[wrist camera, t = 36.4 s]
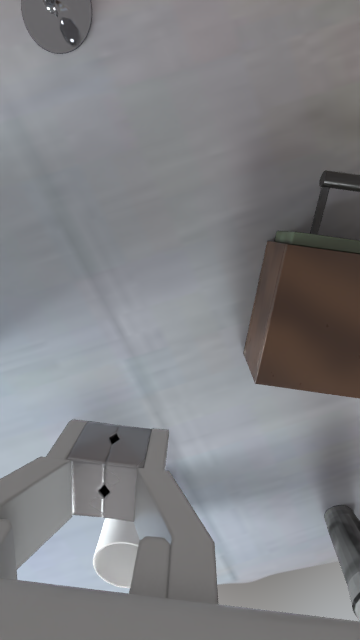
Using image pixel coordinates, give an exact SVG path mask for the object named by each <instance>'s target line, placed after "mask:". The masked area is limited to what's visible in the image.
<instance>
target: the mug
mask: <svg viewBox="0 0 360 640" xmlns="http://www.w3.org/2000/svg"><path fill="white" fill-rule="evenodd" d="M139 541H140V540H139V537H138V534H137V531H136V528H135V525H134V522H131V521H124V520H117V519H111V518H105V521H104V525H103V528H102V531H101V535H100V538H99V541H98V544H97V548H96V551H95V554H94V558H93V565H94V569H95V571H96V573H97V574H98V575H99V576H100V577H101V578H102V579H103V580H104V581H106V582H108V583H110V584H112V585H114V586H118V587H123V588H130V586H131V581H132V576H133V570H134V565H135V560H136V555H137V550H138V545H139Z"/></svg>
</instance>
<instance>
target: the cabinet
mask: <svg viewBox="0 0 360 640" xmlns="http://www.w3.org/2000/svg"><path fill="white" fill-rule="evenodd" d="M243 354H244V356H245V359H246V361H247V364H248V366H249V369H250V371H251V374H252V376H253V379H254V382H255V384H261V385H268V386H275V387H283V388H290V389H297V390H304V391H311V392H318V393H325V394H332V395H339V396H346V397H353V398H360V254H355V253H348V252H341V251H334V250H326V249H319V248H312V247H305V246H298V245H291V244H284V243H278V242H272V241H267V245H266V250H265V254H264V259H263V264H262V268H261V273H260V278H259V282H258V287H257V292H256V296H255V301H254V306H253V310H252V315H251V320H250V324H249V329H248V334H247V338H246V343H245V348H244V352H243Z"/></svg>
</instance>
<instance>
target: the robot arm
mask: <svg viewBox="0 0 360 640" xmlns="http://www.w3.org/2000/svg"><path fill="white" fill-rule="evenodd" d="M168 437H169V430H167V429H154V428H153V429H149V428H139V427H130V426H121V425H115V424H107V423H100V422H92V421H89V422H88V421H84V420H75V419H72V420H71V421H69V422H68V424H67V426H66V427H65V429H64V430H63V432H62V433H61V435H60V436H59V438H58V439H57V441H56V442H55V444H54V445H53V447H52V448H51V450H50V451H49V453H48V454H47V456H46V457H39V458H37V459H35V460H34V461H32V462H30V463H28V464H26V465H25V466H23V467H21V468H19V469H17V470H16V471H14V472H12V473H10V474H8V475H7V476H5V477H3V478H1V479H0V640H360V622H359V621H350V620H342V619H334V618H325V617H318V616H310V615H301V614H293V613H284V612H276V611H269V610H260V609H252V608H243V607H235V606H227V605H219V604H218V592H217V576H216V560H215V544H214V541H213V540H212V538H211V536H210V535H209V533H208V532H207V530H206V529H205V527H204V525H203V524H202V522H201V521H200V519H199V517H198V516H197V514H196V513H195V511H194V510H193V508H192V506H191V505H190V503H189V502H188V500H187V499H186V497H185V495H184V494H183V492H182V491H181V489H180V488H179V486H178V484H177V483H176V481H175V480H174V478H173V477H172V475H171V473H170V472H169V471H165V467H166V457H167V447H168ZM72 515H81V516H92V517H104V518H111V519H117V520H124V521H131V522H134V525H135V528H136V531H137V534H138V537H139V540H140V541H139V545H138V550H137V555H136V560H135V565H134V570H133V576H132V581H131V586H130V591H129V594H128V593H119V592H111V591H103V590H94V589H86V588H78V587H70V586H62V585H53V584H45V583H37V582H29V581H21V580H17V569H18V568H19V567H20V566H21V565H22V564H23V563H24V562H26V561H27V560H28V559H29V558H30V557H31V556H32V555H33V554H34V553H35V552H36V551H37V550H38V549H39V548H40V547H41V546H42V545H43V544H44V543H45V542H46V541H47V540H49V539H50V538H51V537H52V536H53V535H54V534H55V533H56V532H57V531H58V530H59V529H60V528H61V527H62V526H63V525H64V524H65V523H66V522H67V521H68V520H69V519H70V518H72Z"/></svg>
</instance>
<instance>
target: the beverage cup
mask: <svg viewBox="0 0 360 640" xmlns="http://www.w3.org/2000/svg"><path fill="white" fill-rule="evenodd" d="M324 518H325V522H326V524H327V528H328V532H329V535H330V537H331V540H332V543H333V546H334V549H335V552H336V554H337V557H338V560H339V563H340V566H341V569H342V571H343V574H344V577H345V580H346V583H347V586H348V591H349V595H350V598H351V602H352V607H353V611H354V613H355V615H356V616H357V617H358V620H359V622H360V521H359V519H358V518H357V517H356V516H355V514H354V513H353V511H352V510H351V509H350V508H349V507H347V506H343V505H338V506H334V507H332V508H330V509H329V510H327V511H326V513H325V516H324Z"/></svg>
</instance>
